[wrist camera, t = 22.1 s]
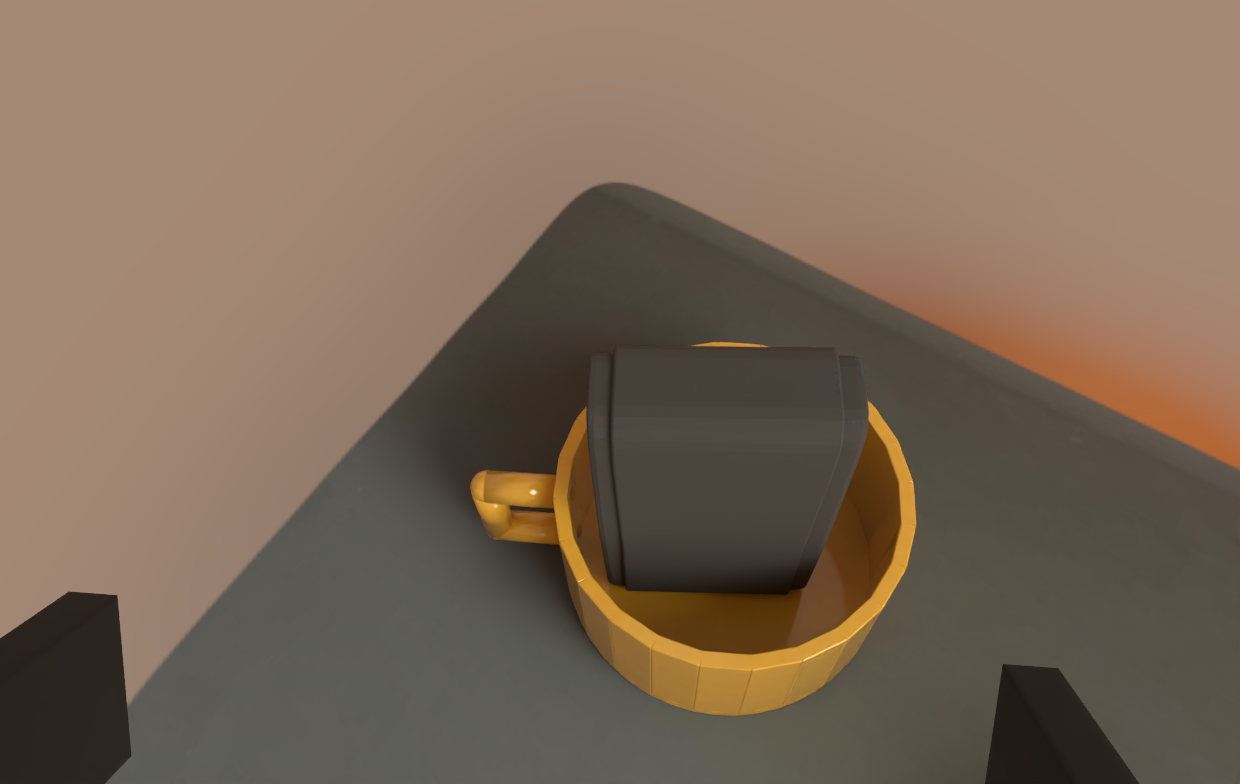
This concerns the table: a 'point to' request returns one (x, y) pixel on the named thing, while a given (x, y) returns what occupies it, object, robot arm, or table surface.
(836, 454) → the card reader
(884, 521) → the mug
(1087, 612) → the table surface
